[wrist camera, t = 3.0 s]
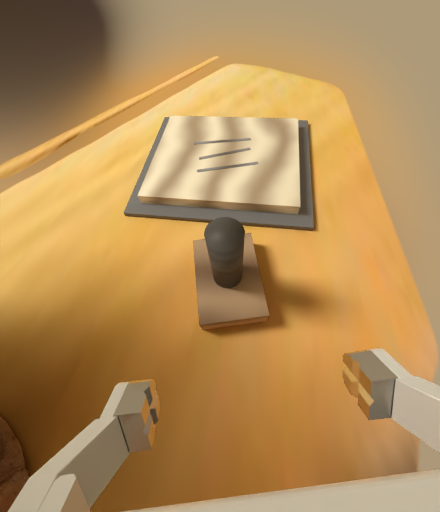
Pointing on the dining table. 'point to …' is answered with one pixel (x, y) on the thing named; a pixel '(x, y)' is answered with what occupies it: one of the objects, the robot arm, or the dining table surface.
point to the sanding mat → (244, 217)
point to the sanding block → (228, 276)
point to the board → (226, 164)
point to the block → (10, 467)
